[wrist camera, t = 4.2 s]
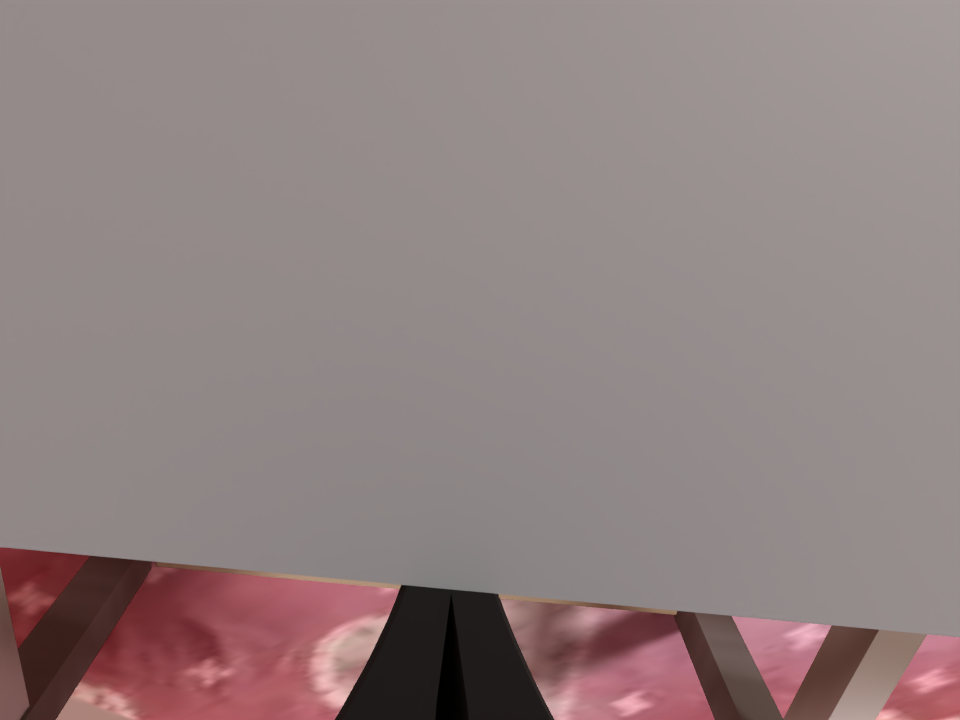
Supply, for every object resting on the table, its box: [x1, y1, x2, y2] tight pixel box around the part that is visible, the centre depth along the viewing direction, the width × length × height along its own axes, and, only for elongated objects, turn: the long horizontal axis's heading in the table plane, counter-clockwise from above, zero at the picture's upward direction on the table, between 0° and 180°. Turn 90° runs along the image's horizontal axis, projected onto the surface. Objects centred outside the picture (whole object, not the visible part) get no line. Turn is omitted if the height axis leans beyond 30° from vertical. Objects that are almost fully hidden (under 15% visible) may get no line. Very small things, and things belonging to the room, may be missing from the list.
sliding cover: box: [0, 0, 960, 637], centre depth 7 cm, size 12×19×1 cm, turn 81°
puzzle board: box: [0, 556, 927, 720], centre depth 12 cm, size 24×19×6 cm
